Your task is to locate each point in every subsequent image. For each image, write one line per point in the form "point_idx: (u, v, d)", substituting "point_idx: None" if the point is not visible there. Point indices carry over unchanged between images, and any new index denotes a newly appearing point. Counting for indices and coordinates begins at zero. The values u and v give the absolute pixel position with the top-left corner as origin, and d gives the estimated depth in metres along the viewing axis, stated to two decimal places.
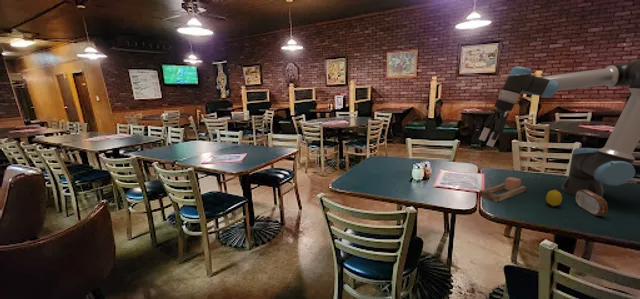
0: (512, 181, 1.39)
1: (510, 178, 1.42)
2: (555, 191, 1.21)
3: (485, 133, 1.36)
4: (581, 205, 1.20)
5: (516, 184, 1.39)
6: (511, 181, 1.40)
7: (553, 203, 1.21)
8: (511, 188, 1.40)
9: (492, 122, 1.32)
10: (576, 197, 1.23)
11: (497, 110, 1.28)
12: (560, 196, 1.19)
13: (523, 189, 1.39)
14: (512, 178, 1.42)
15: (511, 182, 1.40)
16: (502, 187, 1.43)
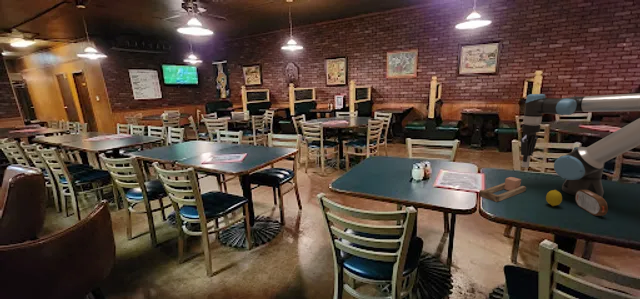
0: (512, 181, 1.39)
1: (510, 178, 1.42)
2: (555, 191, 1.21)
3: None
4: (581, 205, 1.20)
5: (516, 184, 1.39)
6: (511, 181, 1.40)
7: (553, 203, 1.21)
8: (511, 188, 1.40)
9: None
10: (576, 197, 1.23)
11: None
12: (560, 196, 1.19)
13: (523, 189, 1.39)
14: (512, 178, 1.42)
15: (511, 182, 1.40)
16: (502, 187, 1.43)
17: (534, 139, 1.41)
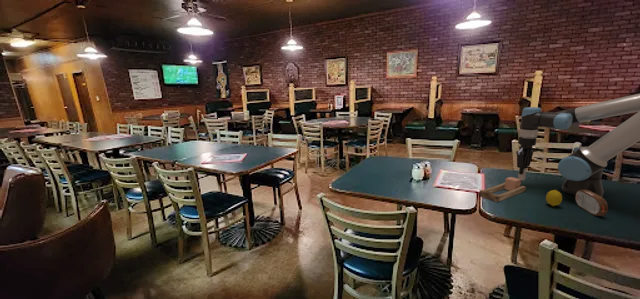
0: (512, 181, 1.39)
1: (510, 178, 1.42)
2: (555, 191, 1.21)
3: None
4: (581, 205, 1.20)
5: (516, 184, 1.39)
6: (511, 181, 1.40)
7: (553, 203, 1.21)
8: (511, 188, 1.40)
9: None
10: (576, 197, 1.23)
11: None
12: (560, 196, 1.19)
13: (523, 189, 1.39)
14: (512, 178, 1.42)
15: (511, 182, 1.40)
16: (502, 187, 1.43)
17: (530, 152, 1.41)
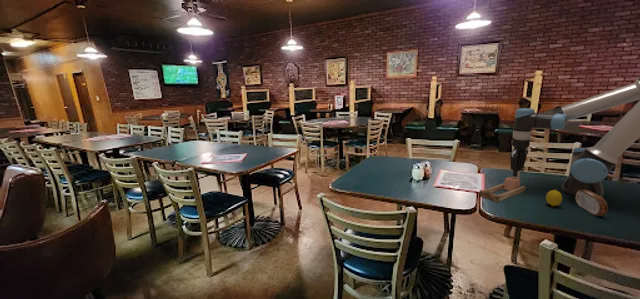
0: (511, 181, 1.39)
1: (509, 178, 1.42)
2: (555, 191, 1.21)
3: None
4: (581, 205, 1.20)
5: (515, 184, 1.39)
6: (511, 181, 1.39)
7: (553, 203, 1.21)
8: (510, 188, 1.40)
9: None
10: (576, 197, 1.23)
11: None
12: (560, 196, 1.19)
13: (523, 189, 1.39)
14: (512, 178, 1.41)
15: (511, 182, 1.39)
16: (502, 187, 1.43)
17: (524, 154, 1.38)
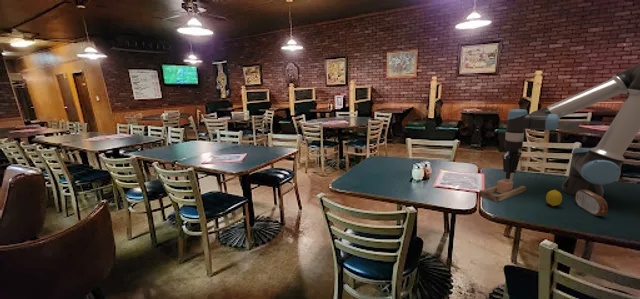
0: (504, 184, 1.36)
1: (502, 181, 1.39)
2: (555, 191, 1.21)
3: None
4: (581, 205, 1.20)
5: (508, 187, 1.36)
6: (504, 184, 1.36)
7: (553, 203, 1.21)
8: (503, 191, 1.37)
9: None
10: (576, 197, 1.23)
11: None
12: (560, 196, 1.19)
13: (523, 189, 1.39)
14: (505, 181, 1.38)
15: (504, 185, 1.36)
16: None
17: (517, 156, 1.36)
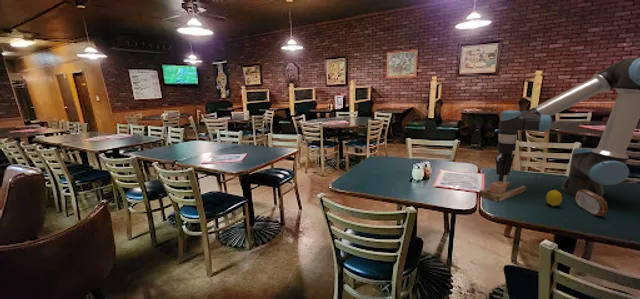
0: (497, 186, 1.33)
1: (495, 183, 1.36)
2: (555, 191, 1.21)
3: None
4: (581, 205, 1.20)
5: (501, 189, 1.33)
6: (496, 186, 1.34)
7: (553, 203, 1.21)
8: (496, 193, 1.34)
9: None
10: (576, 197, 1.23)
11: None
12: (560, 196, 1.19)
13: (523, 189, 1.39)
14: (498, 183, 1.36)
15: (496, 187, 1.34)
16: None
17: (510, 158, 1.33)
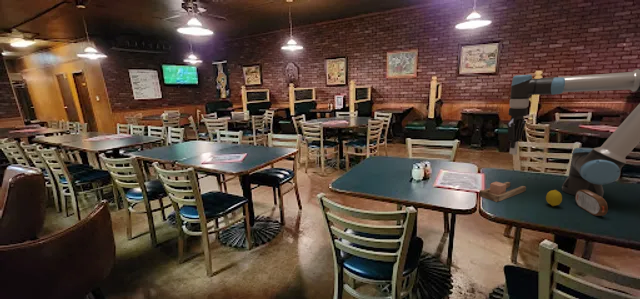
0: (497, 186, 1.33)
1: (495, 183, 1.36)
2: (555, 191, 1.21)
3: None
4: (581, 205, 1.20)
5: (501, 189, 1.33)
6: (496, 186, 1.34)
7: (553, 203, 1.21)
8: (496, 193, 1.34)
9: None
10: (576, 197, 1.23)
11: None
12: (560, 196, 1.19)
13: (523, 189, 1.39)
14: (497, 183, 1.36)
15: (496, 188, 1.34)
16: None
17: (521, 123, 1.32)
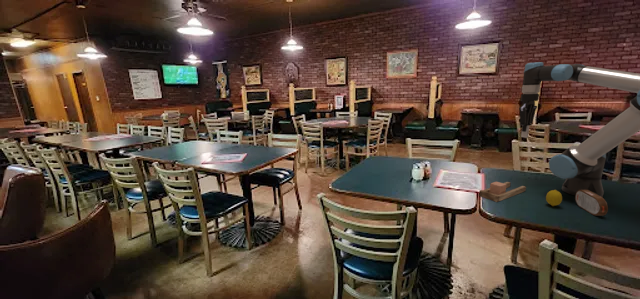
0: (497, 186, 1.33)
1: (495, 183, 1.36)
2: (555, 191, 1.21)
3: None
4: (581, 205, 1.20)
5: (501, 189, 1.33)
6: (496, 186, 1.34)
7: (553, 203, 1.21)
8: (496, 193, 1.34)
9: None
10: (576, 197, 1.23)
11: None
12: (560, 196, 1.19)
13: (523, 189, 1.39)
14: (497, 183, 1.36)
15: (496, 188, 1.34)
16: None
17: (533, 108, 1.42)
